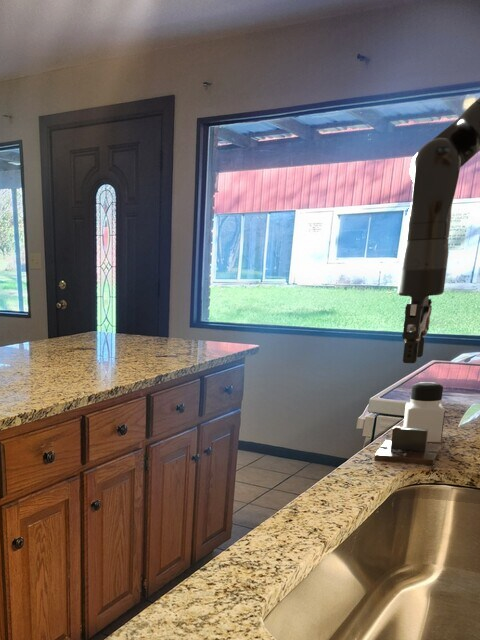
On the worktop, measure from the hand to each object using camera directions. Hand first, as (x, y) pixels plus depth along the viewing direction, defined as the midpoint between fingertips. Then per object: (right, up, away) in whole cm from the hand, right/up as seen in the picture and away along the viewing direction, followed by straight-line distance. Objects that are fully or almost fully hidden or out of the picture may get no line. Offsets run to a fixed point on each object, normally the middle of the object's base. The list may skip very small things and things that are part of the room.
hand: (412, 359), depth 126 cm
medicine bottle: (+12, -12, +23) cm, 29 cm away
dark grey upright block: (+1, -16, +4) cm, 17 cm away
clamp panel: (+1, -19, +5) cm, 20 cm away
